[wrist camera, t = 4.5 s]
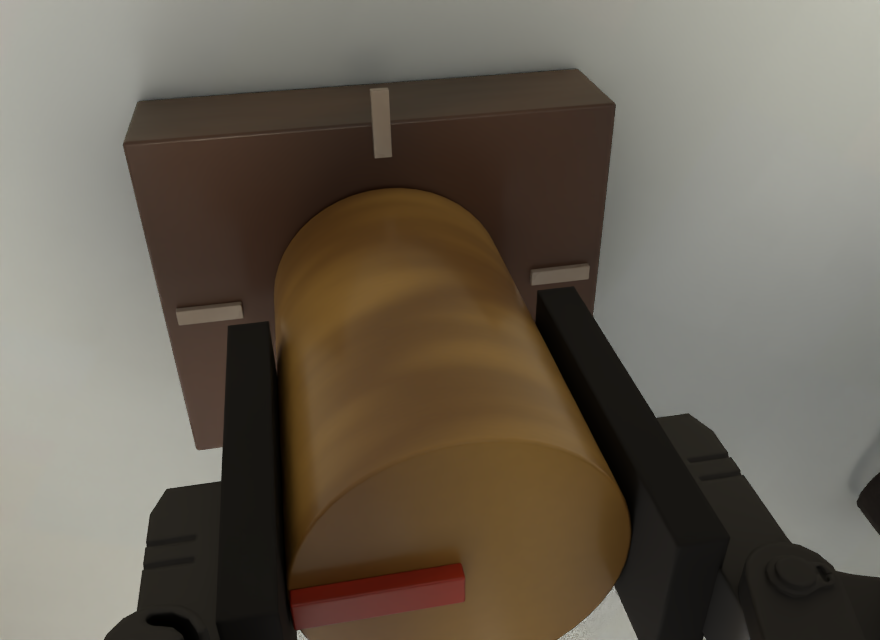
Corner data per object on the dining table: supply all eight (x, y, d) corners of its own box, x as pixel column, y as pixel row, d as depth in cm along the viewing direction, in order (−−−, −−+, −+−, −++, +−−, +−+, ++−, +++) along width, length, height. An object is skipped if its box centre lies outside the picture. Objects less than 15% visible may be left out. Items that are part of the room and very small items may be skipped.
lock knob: (505, 176, 18) (663, 430, 11) (498, 369, 21) (619, 664, 14) (259, 198, 17) (263, 487, 10) (288, 396, 20) (306, 723, 13)
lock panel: (581, 37, 19) (623, 72, 17) (554, 364, 24) (584, 423, 22) (129, 67, 17) (111, 110, 15) (205, 409, 23) (200, 476, 20)
